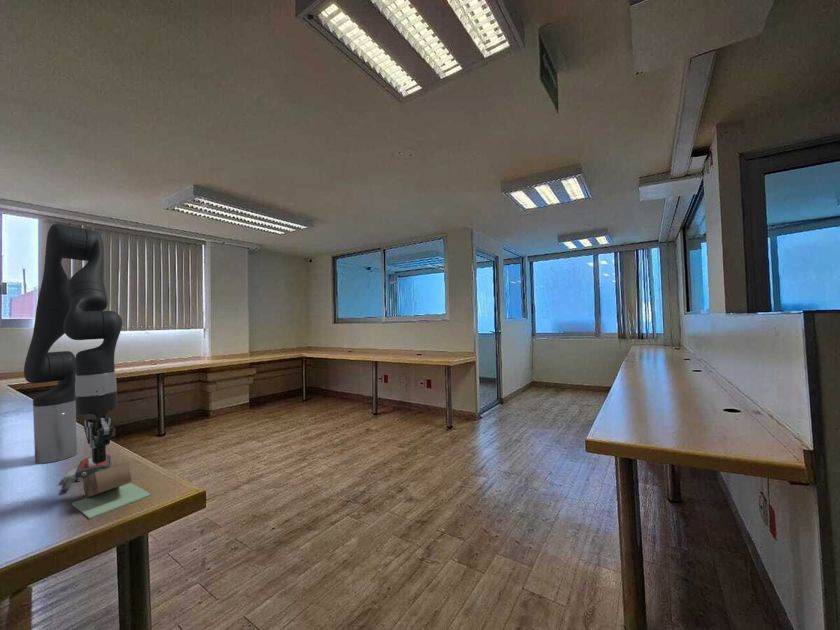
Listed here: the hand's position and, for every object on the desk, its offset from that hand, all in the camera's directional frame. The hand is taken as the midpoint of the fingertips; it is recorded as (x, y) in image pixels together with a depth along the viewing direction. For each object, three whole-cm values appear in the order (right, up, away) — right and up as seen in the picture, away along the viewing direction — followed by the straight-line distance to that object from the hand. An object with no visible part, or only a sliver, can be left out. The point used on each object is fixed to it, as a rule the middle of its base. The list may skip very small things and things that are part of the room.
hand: (99, 462), depth 86 cm
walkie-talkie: (-12, -8, +9) cm, 17 cm away
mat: (+7, -7, -4) cm, 11 cm away
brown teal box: (+1, -5, 0) cm, 5 cm away
